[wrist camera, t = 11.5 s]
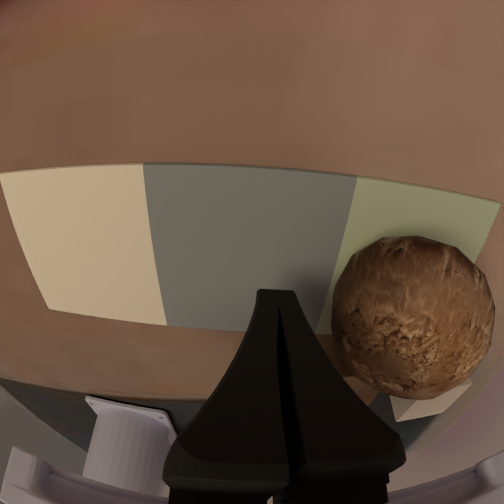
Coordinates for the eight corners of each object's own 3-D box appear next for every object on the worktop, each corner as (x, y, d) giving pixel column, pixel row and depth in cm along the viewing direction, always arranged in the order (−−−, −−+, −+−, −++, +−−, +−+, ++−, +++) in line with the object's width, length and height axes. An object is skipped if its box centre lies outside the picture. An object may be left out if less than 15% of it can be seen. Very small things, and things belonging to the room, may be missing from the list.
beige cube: (384, 373, 20) (428, 369, 20) (395, 421, 17) (442, 412, 17) (405, 340, 17) (452, 336, 17) (423, 393, 14) (472, 383, 14)
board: (434, 328, 17) (435, 331, 16) (50, 306, 16) (48, 308, 16) (498, 201, 11) (501, 203, 11) (1, 172, 11) (-2, 174, 11)
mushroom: (527, 295, 10) (516, 407, 7) (418, 343, 17) (377, 428, 13) (435, 165, 11) (399, 245, 7) (335, 252, 17) (271, 328, 14)
